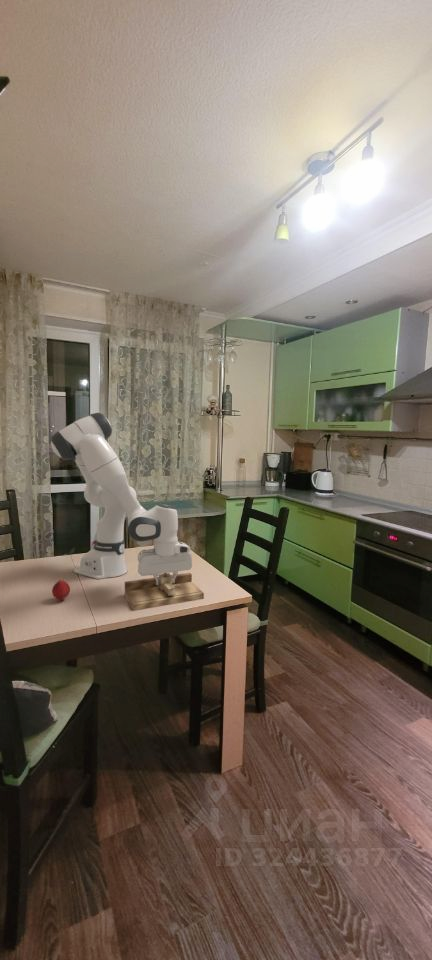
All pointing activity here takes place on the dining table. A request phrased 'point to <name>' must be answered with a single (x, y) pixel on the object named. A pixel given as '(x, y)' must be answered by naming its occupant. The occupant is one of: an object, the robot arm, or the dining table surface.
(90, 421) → the robot arm
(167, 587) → the gauge
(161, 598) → the wooden tray
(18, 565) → the dining table surface
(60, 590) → the onion
